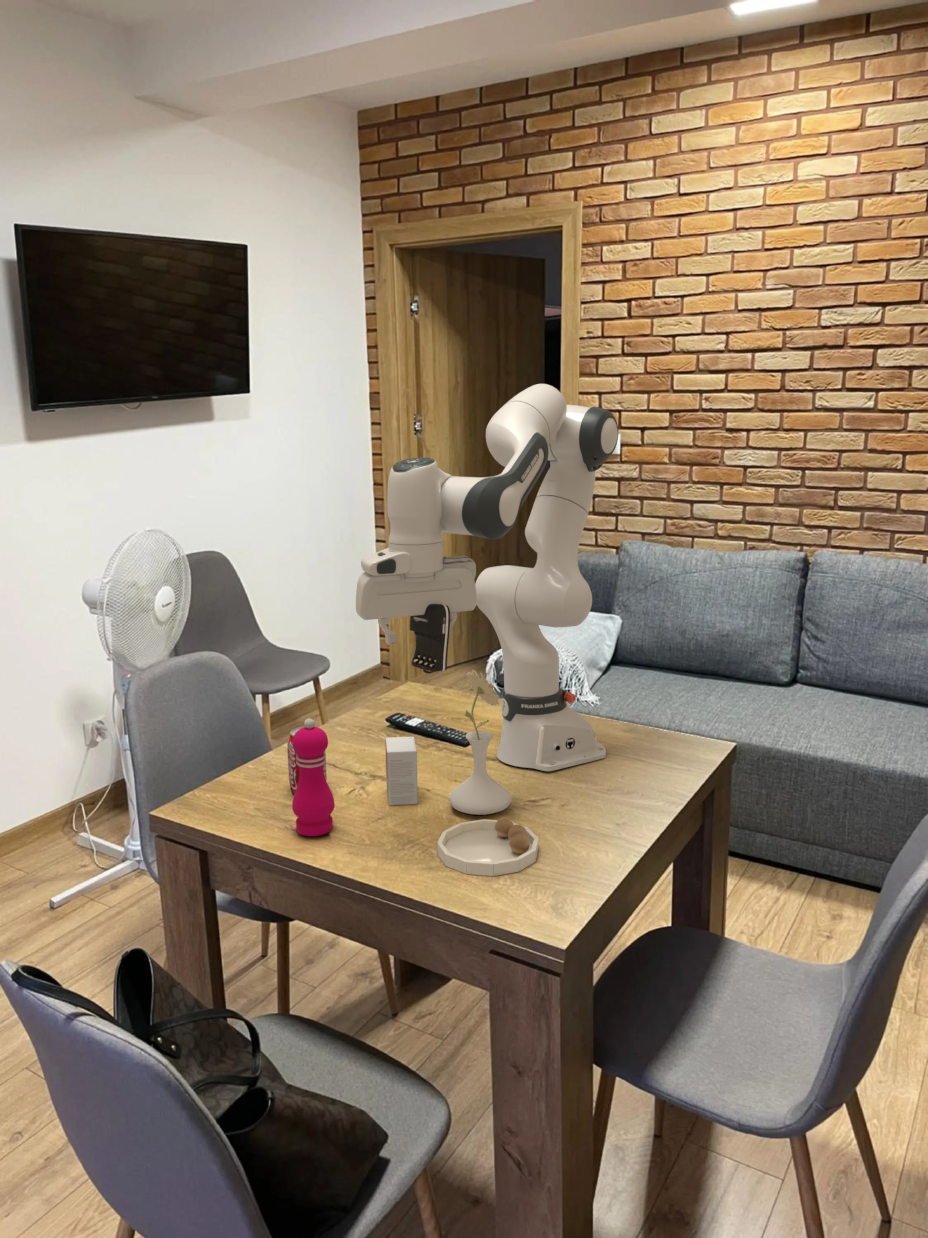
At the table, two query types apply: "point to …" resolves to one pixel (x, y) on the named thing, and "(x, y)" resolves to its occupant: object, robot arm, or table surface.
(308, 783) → the pepper mill
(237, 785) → the table surface
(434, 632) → the battery charger
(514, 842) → the bead
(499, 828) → the bead
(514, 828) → the bead
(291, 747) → the soda can
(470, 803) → the flower in vase
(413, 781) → the small box
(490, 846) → the tray
